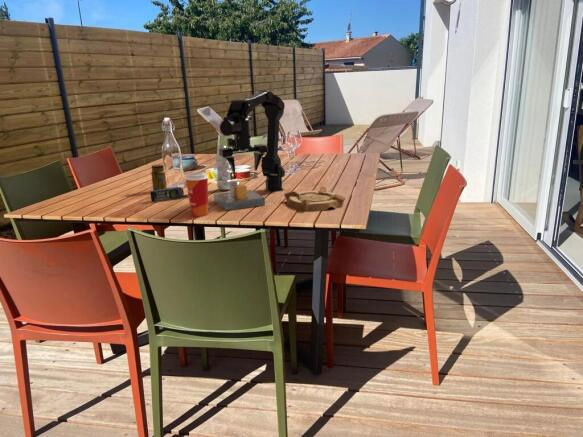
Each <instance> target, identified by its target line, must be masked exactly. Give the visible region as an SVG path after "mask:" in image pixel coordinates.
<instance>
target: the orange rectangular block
mask: <svg viewBox="0 0 583 437" xmlns="http://www.w3.org/2000/svg"><path fill="white" fill-rule="evenodd" d="M247 190H248V188H247V185H246V184H244V183H243V184H240V185H236V194H237V200H242V199H247Z"/></svg>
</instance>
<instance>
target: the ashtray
mask: <svg viewBox="0 0 583 437" xmlns="http://www.w3.org/2000/svg"><path fill="white" fill-rule="evenodd" d="M283 195H284V197H285V199H286V204H287V207H289V208H290V209H292V210H297V211H305V212H322V211H326V210H328V209H329V208H333V209H335V210H337V209H339V208H342V207H343V205H345V204H344V203H345V200H346V197H345V196H343V195H341V194H338V193H335V192H331V191H327V187H325V186H321V187H320V188H319V190H305V191H300V192H297V191H296V190H293V191H289V192H287V193H284V194H283Z"/></svg>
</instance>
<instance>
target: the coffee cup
mask: <svg viewBox="0 0 583 437" xmlns="http://www.w3.org/2000/svg"><path fill="white" fill-rule="evenodd" d="M184 179H185V181H186V188H187V189H186V190H187V195H188V201H189V208H190V213H191V216H192V217H193V218H196V217H197V218H199V217H200V216H202V217H206V216H208V215H209V191H208V190H209V185H208V184H209V183H208V182H209V181H208V179H209V176H208V174H207V173H206V172H190V173H187V174H185V178H184ZM205 215H206V216H205Z"/></svg>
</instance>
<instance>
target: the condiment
mask: <svg viewBox="0 0 583 437" xmlns="http://www.w3.org/2000/svg"><path fill="white" fill-rule="evenodd" d="M164 167H165V166H164V165H163V164H154V165H151V171H150V174H151V183H152V189H151V191H154V190H159V189H166V188H168V186H167V178H166V170H165V168H164ZM151 191H150V192H151Z"/></svg>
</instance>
